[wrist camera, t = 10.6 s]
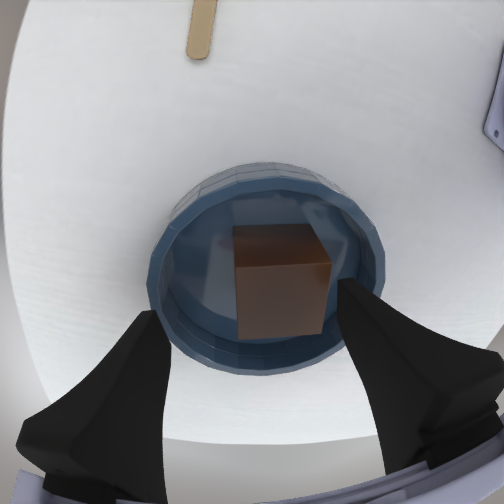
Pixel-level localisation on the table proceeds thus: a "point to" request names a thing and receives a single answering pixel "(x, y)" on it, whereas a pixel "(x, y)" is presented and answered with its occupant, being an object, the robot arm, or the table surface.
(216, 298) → the dish
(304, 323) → the block
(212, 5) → the popsicle
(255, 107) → the table surface
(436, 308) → the table surface
